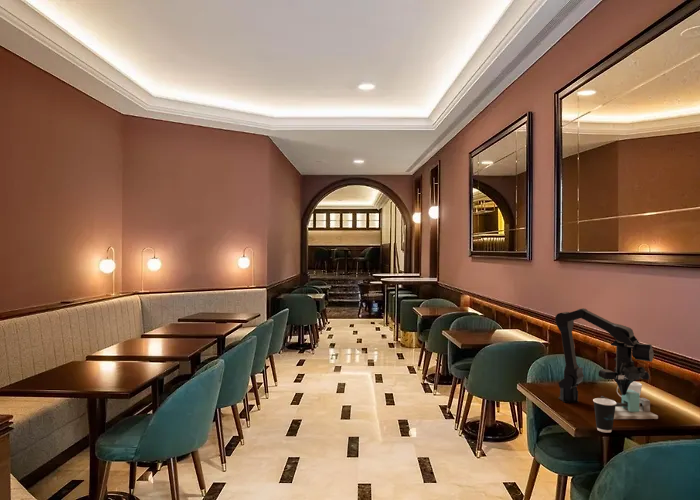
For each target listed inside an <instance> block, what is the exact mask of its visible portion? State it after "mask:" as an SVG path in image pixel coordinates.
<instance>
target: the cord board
mask: <svg viewBox="0 0 700 500" xmlns="http://www.w3.org/2000/svg"><path fill="white" fill-rule="evenodd" d="M600 398H605V399H608V397H605V396H604V395H600ZM616 403H617V404H616V407H615V414H614V420H653V419H654V420H658V419H659V415H657V414H655V413H653V412H651V400H649V399H647V398H645V397H640V398H639V412H630V411H628V408H622V407H628V403H622V402H616Z"/></svg>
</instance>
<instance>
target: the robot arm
mask: <svg viewBox="0 0 700 500" xmlns="http://www.w3.org/2000/svg"><path fill="white" fill-rule="evenodd" d="M580 319H582V320H584V321H586V322H588V323H590V324H592V325H593V326H596V327H598V328H599V329H602V330H604V331H606V332H607V333H608V334H609V335H610V336H611V337H612V338H614V339H615V340H614V341H613V342H612V343H610V346H612V347H615V348H616V349H615V351H616V353H615V355H616V356H615V358H614V359H613V360H614V361H613V362H615V367H614V369H613V371H612V370H609V369H599V370H598V377H600V378H603V379H604V380H614V381H615V382H616V385H617V387H618V389H619V391H620V395H621V396H622V395H625V394H626V392H627V390H628V387H629V385H630V384H631V383H632V382H637V381H639V380H640V379H641V380H650V373H649V372H648V371H646V369H645V368H644V366H635V362H634V361H633V359H635V360H637V361H644V362H650V363H652V362H653V359H654V354H655V352H654V349H653V346H652V343H651V344H650V343H646V344H645V343H640V341H639V339H638V338H637V337H636V336H635V333H634V331H633V329H632V328H631V327H630V326H626V325H622V324H619V323H614V322H611V321H610V320H608V319H605V318H604V317H601V316H600V315H597V314H595V313H593V312H592V311H589V310H588V309H586V308H579V309H577V310H574V311H573V310H572V311H570V312H569V311H564V312H559V313H557V314H556V315H555V318H554V321H555V324H556V327H557V328H558V331H559V332H560V335H561V343H562V348H563V349H562V350H563V355H564V361H565V362H564V364H565V366H564V371H563V379H561V380H560V381H559V382H558V387H559V396H558V398H557V399H559V400H560V401H562V402H563V403H567V404H568V403H569V404H570V403H573V404H574V403H579V402H580V401H579V391H578V386H579V385H580V383H581V382H583V379H584V377H585V375H584V373H583V371H584V369H583V367H580V366H579V365H578V362H577V356H576V349H575V343H574V342H575V341H574V336H573V329H574V324H575V323H574V321H577V320H580Z"/></svg>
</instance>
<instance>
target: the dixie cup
mask: <svg viewBox="0 0 700 500" xmlns="http://www.w3.org/2000/svg"><path fill="white" fill-rule="evenodd" d="M605 398H606V397H604V398H601V397H596V398H593V399H592V401H593V404H594V405H593V408H594V415H595V425H596V429H597V431H599V432H601V433H612V431H613V427H614V420H615V419H614V414H615V407H616V404H617V403H618V402H616V401H615V400H614V399H610V398H607V399H605Z"/></svg>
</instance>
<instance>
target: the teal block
mask: <svg viewBox="0 0 700 500" xmlns="http://www.w3.org/2000/svg"><path fill="white" fill-rule="evenodd" d="M621 396H622V397H621V403H628V407H622V408H628V411H630V412H639V398H641V394H639V393H637V392H635V391H633V390H627V392H626V394H625V395H622V394H621Z"/></svg>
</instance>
